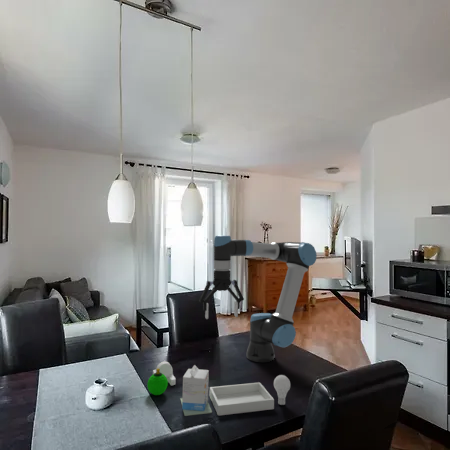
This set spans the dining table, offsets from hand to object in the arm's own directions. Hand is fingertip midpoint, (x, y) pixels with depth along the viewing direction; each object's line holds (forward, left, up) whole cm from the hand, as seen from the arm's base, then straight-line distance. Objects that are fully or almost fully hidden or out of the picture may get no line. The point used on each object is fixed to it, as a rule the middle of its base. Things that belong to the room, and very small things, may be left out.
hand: (221, 317), depth 146 cm
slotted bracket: (+24, -6, -28) cm, 38 cm away
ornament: (+28, +7, -28) cm, 40 cm away
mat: (+14, +19, -28) cm, 37 cm away
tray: (-3, +20, -28) cm, 35 cm away
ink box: (+14, +19, -28) cm, 36 cm away
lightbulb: (-18, +25, -28) cm, 42 cm away
